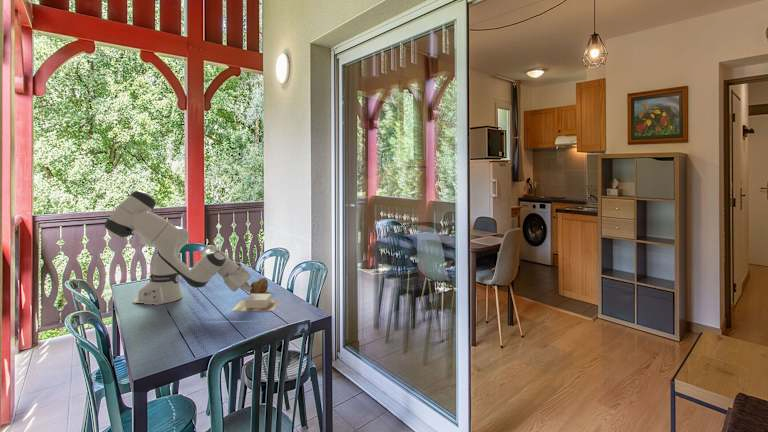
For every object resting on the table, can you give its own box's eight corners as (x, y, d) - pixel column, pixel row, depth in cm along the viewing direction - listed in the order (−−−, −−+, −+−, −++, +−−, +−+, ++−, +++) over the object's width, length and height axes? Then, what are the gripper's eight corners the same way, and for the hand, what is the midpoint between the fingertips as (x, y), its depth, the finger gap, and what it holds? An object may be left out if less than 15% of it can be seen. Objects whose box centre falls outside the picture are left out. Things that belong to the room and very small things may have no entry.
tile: (245, 300, 182) (266, 300, 183) (251, 293, 192) (271, 293, 193) (245, 308, 183) (266, 308, 183) (251, 301, 193) (271, 301, 193)
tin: (254, 299, 198) (253, 284, 197) (248, 299, 199) (248, 283, 198) (268, 291, 213) (268, 276, 212) (263, 290, 213) (263, 276, 212)
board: (230, 312, 179) (230, 311, 179) (241, 301, 194) (241, 300, 194) (272, 311, 180) (272, 310, 180) (280, 301, 195) (280, 300, 195)
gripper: (226, 272, 175) (248, 292, 176) (240, 262, 195) (260, 280, 197) (216, 281, 175) (238, 301, 177) (232, 270, 195) (252, 288, 197)
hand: (250, 290), depth 187 cm, fingers closed
